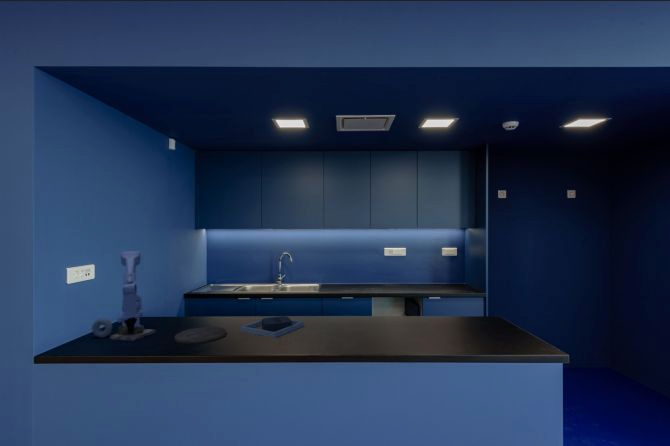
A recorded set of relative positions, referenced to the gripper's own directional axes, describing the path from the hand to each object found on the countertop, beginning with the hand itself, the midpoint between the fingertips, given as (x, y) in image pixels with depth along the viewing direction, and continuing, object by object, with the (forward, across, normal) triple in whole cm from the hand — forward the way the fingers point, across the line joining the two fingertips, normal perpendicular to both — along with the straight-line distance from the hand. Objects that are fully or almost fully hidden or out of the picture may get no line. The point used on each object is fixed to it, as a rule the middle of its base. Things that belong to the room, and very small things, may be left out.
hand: (130, 332), depth 194 cm
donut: (+3, -3, +16) cm, 17 cm away
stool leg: (+1, +2, +2) cm, 3 cm away
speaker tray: (+3, +32, -65) cm, 73 cm away
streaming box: (+3, +33, -67) cm, 75 cm away
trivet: (+3, +11, -35) cm, 37 cm away
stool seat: (+2, +3, +2) cm, 5 cm away
